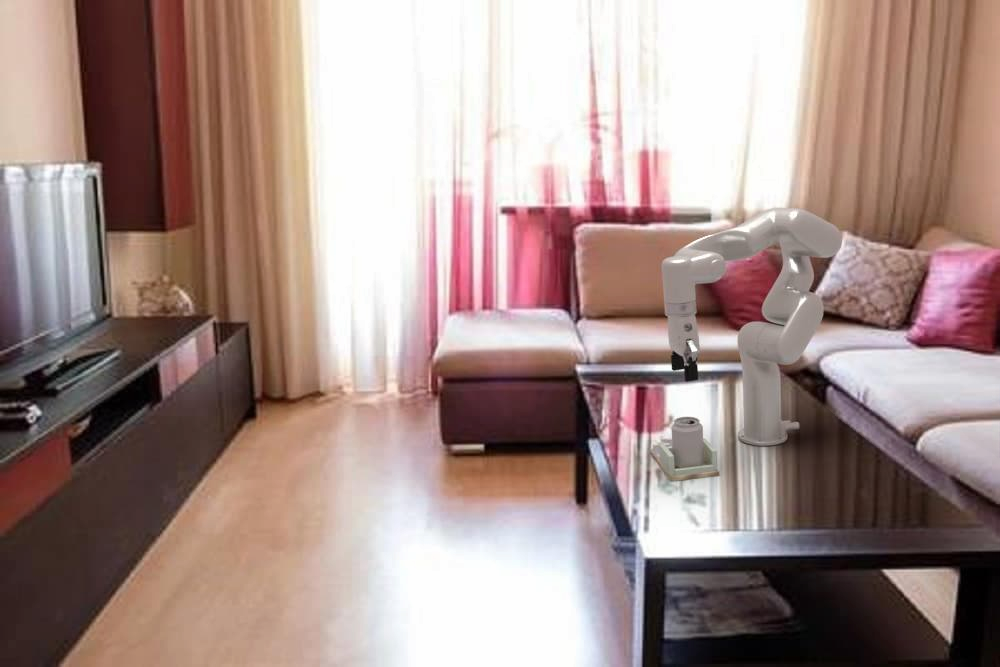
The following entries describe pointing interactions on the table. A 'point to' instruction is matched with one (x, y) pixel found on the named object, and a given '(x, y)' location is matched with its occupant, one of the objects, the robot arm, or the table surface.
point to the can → (687, 442)
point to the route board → (685, 477)
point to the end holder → (668, 465)
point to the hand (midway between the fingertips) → (684, 375)
